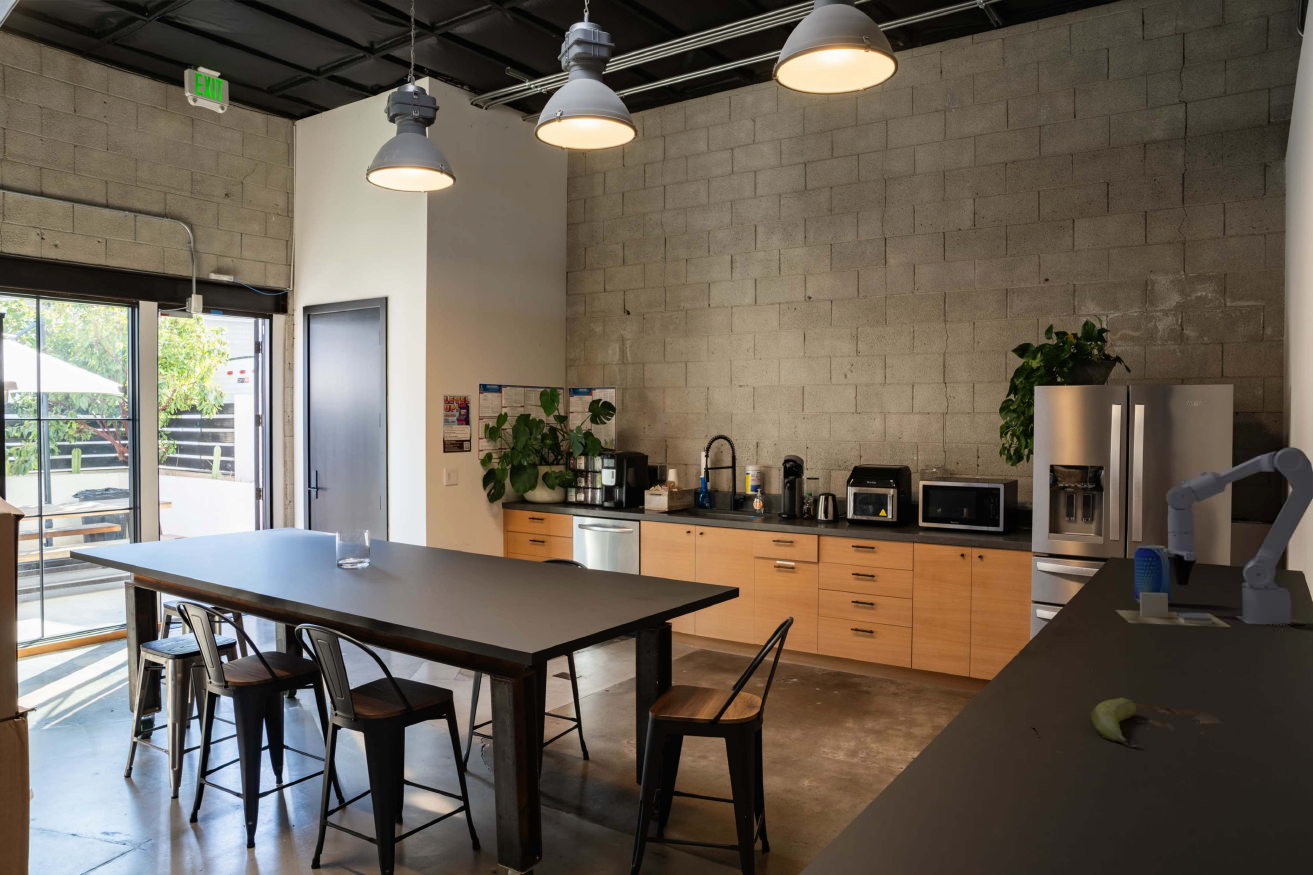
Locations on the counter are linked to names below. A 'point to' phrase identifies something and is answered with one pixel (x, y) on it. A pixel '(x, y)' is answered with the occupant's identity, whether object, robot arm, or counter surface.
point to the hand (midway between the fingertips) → (1182, 584)
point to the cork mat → (1165, 619)
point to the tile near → (1194, 618)
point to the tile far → (1153, 604)
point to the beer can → (1151, 570)
